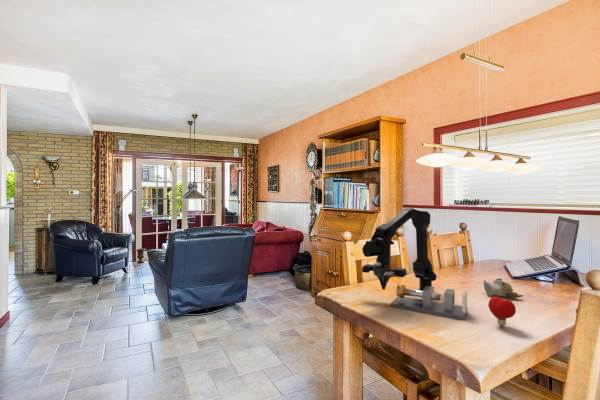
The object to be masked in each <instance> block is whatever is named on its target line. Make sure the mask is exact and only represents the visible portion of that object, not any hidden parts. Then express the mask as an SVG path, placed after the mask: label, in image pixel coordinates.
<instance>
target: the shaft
mask: <svg viewBox="0 0 600 400" xmlns="http://www.w3.org/2000/svg"><path fill="white" fill-rule="evenodd" d="M395 291H396V298H397V297H399V298H404V297H411V298H417V299H423V291H420V290H418V289H412V288H407V287H406V285H405V284H400V283H399V284H397V286H396V290H395ZM441 298H442V294H441V293H439V292H434V293H433V292H432V293H431V300H434V301H435V302H441V301H442V300H441Z"/></svg>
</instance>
